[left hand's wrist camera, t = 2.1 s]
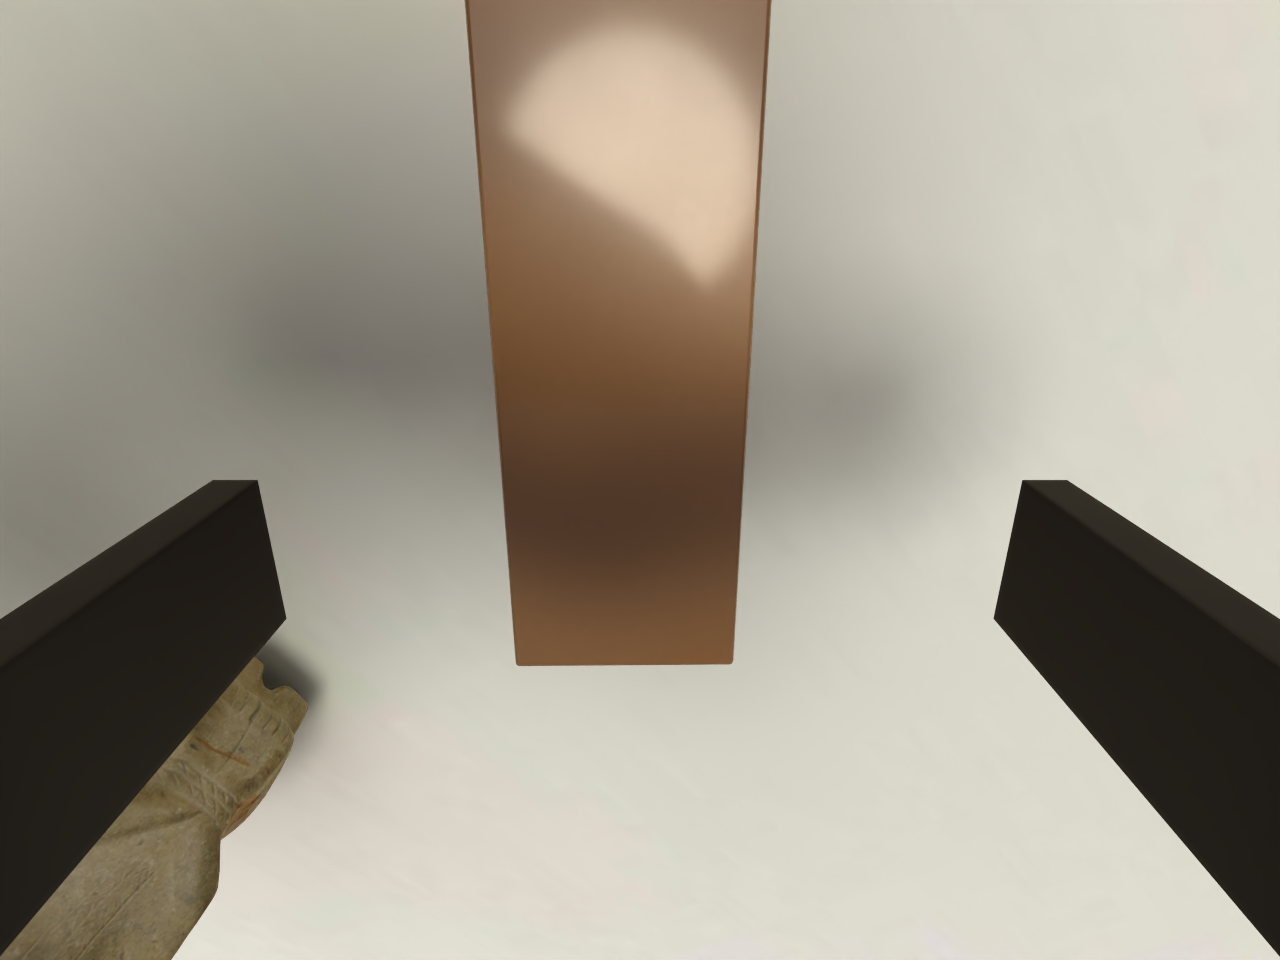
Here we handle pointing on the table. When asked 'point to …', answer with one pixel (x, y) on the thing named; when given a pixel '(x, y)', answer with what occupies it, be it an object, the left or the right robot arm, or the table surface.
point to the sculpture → (170, 836)
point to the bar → (621, 313)
